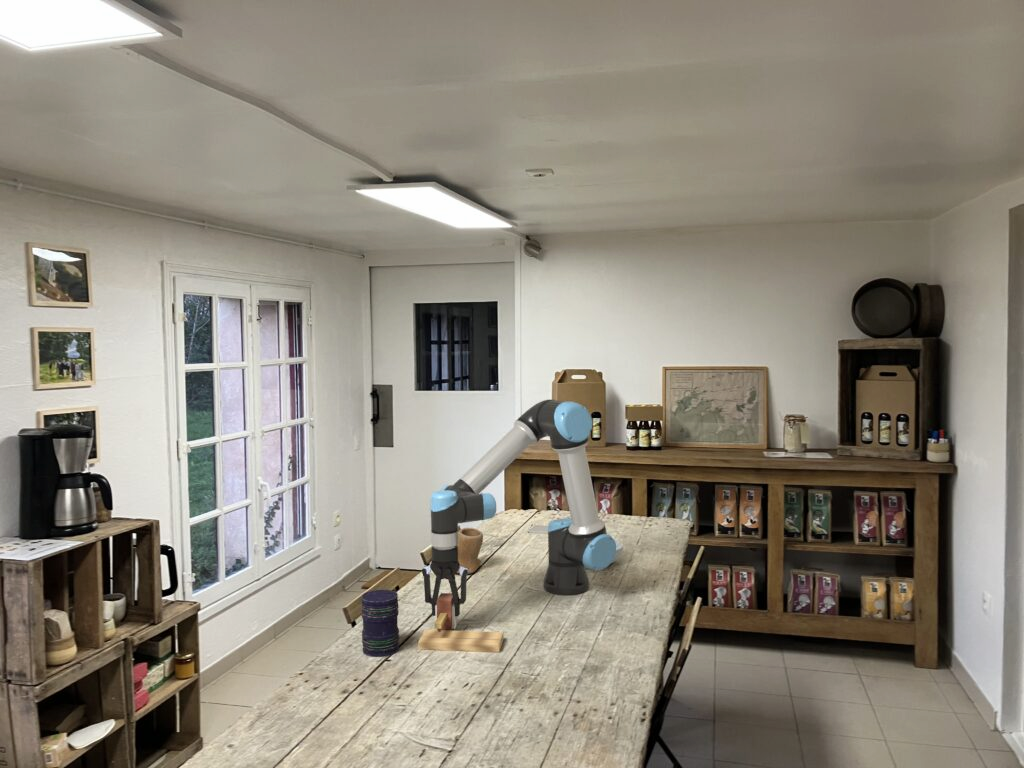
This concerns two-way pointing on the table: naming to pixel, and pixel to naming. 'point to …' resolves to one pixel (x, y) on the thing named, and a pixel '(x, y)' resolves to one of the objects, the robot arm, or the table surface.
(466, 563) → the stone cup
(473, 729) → the table surface
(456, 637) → the board
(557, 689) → the table surface
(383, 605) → the storage jar
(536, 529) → the baseboard
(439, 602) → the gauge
